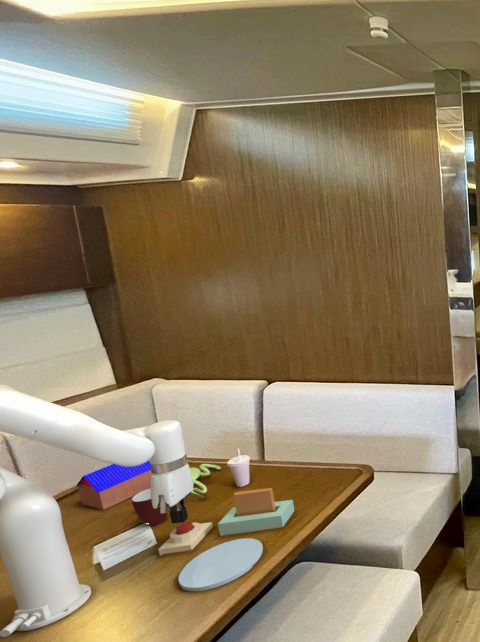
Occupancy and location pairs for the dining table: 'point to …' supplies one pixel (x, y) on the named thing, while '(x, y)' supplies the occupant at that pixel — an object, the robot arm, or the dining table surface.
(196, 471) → the figurine
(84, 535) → the dining table surface
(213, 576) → the plate
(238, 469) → the smoothie
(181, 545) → the control block
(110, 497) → the house
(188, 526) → the stop button
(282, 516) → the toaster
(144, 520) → the mug
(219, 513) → the dining table surface
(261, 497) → the copper rectangular plank
